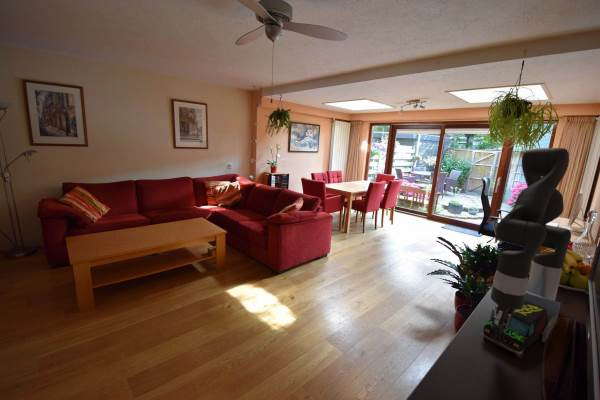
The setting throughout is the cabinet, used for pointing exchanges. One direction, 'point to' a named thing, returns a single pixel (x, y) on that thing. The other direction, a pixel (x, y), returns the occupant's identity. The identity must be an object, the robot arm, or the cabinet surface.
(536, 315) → the toy van
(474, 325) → the cabinet surface
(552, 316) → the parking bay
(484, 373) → the cabinet surface
